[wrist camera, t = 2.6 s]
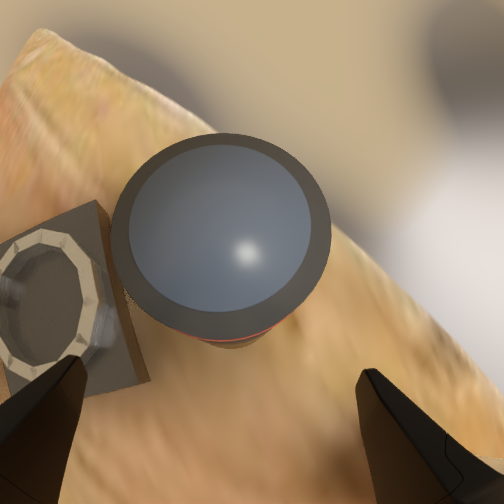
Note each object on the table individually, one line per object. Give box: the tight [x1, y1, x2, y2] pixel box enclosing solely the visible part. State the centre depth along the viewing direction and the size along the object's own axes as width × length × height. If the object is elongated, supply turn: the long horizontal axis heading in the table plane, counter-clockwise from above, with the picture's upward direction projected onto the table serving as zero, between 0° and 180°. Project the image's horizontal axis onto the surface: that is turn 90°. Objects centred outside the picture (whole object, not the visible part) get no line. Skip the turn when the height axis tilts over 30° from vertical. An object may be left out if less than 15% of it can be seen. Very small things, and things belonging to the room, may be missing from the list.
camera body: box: [0, 200, 151, 398], centre depth 17 cm, size 13×11×4 cm
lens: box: [111, 133, 331, 349], centre depth 14 cm, size 6×6×13 cm
